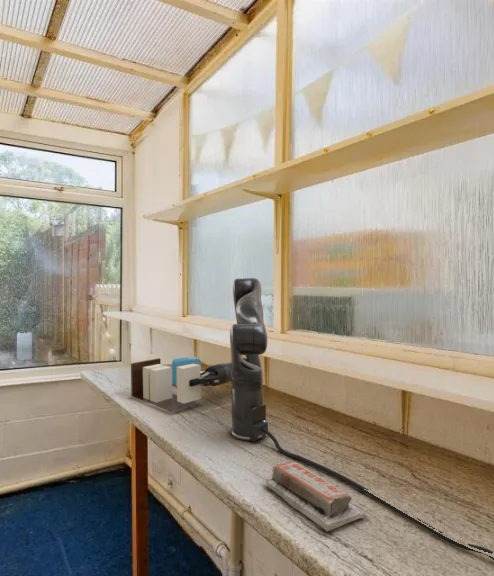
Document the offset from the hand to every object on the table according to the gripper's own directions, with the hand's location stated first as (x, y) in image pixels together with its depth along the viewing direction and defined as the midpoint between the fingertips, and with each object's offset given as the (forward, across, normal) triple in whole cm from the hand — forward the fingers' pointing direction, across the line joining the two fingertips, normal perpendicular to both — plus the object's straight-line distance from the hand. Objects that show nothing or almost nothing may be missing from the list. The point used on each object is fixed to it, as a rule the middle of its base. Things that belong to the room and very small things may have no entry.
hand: (186, 382), depth 134 cm
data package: (-23, -26, +11) cm, 37 cm away
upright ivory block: (-1, 0, +6) cm, 7 cm away
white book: (-1, -21, +10) cm, 23 cm away
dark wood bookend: (-2, -16, +11) cm, 19 cm away
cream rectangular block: (-1, -16, +10) cm, 19 cm away
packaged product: (+16, +57, +12) cm, 60 cm away
